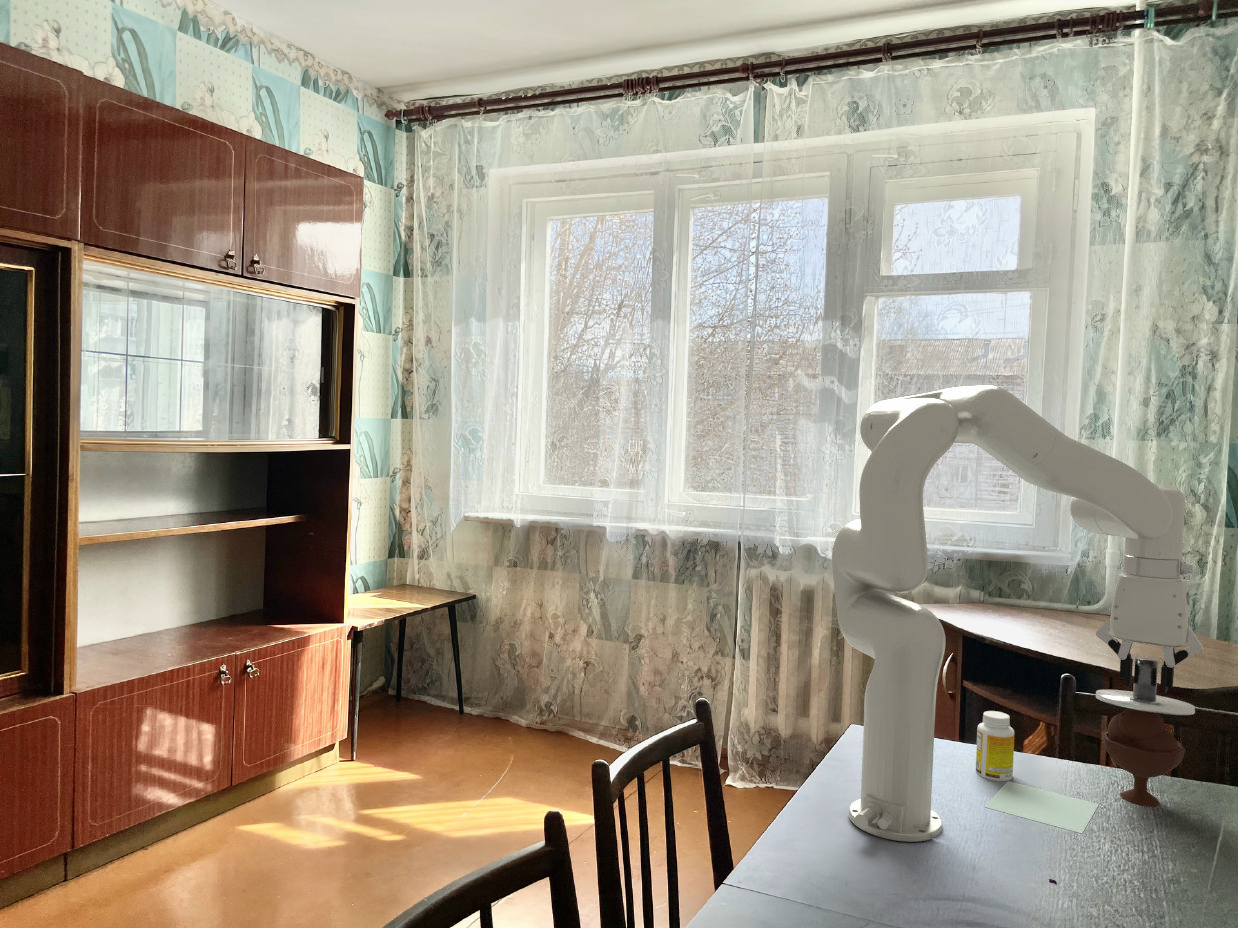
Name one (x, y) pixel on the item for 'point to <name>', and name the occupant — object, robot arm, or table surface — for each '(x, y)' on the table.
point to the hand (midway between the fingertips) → (1145, 686)
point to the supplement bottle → (995, 747)
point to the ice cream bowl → (1141, 750)
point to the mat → (1043, 806)
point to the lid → (1145, 693)
